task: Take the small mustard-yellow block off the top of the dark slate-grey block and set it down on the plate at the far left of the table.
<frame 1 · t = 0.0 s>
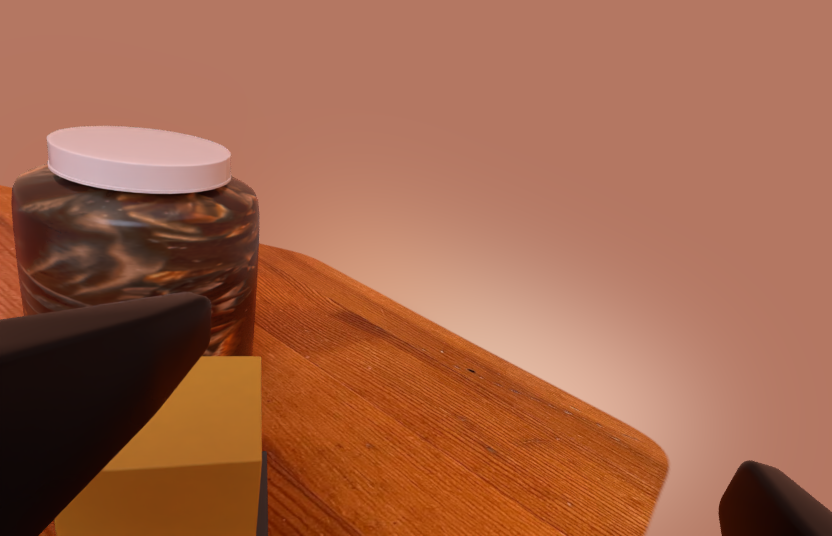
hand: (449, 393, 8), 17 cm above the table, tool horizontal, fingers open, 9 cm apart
top block: (175, 521, 17), point 6 cm above the table, touching base block
jar: (151, 382, 32), on the table
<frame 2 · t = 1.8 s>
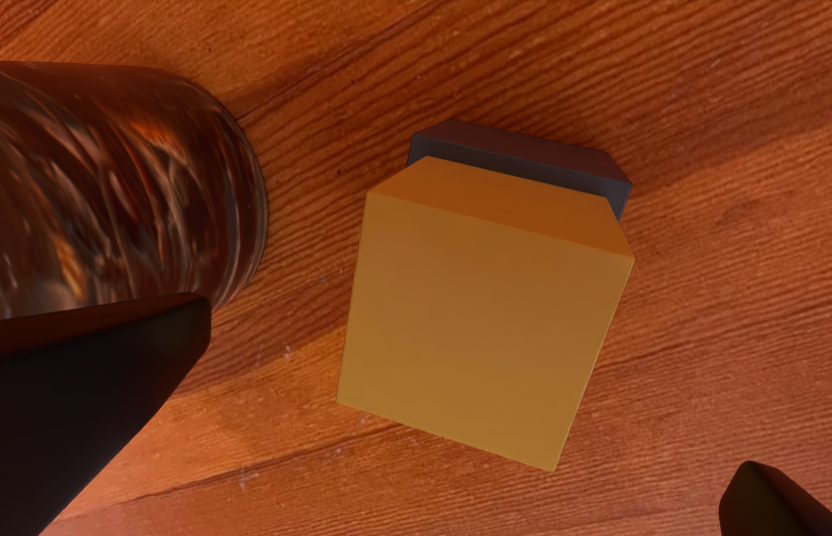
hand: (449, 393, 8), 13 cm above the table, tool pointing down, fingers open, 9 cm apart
top block: (491, 259, 15), point 6 cm above the table, touching base block
jar: (163, 199, 24), on the table
base block: (508, 210, 20), on the table, touching top block
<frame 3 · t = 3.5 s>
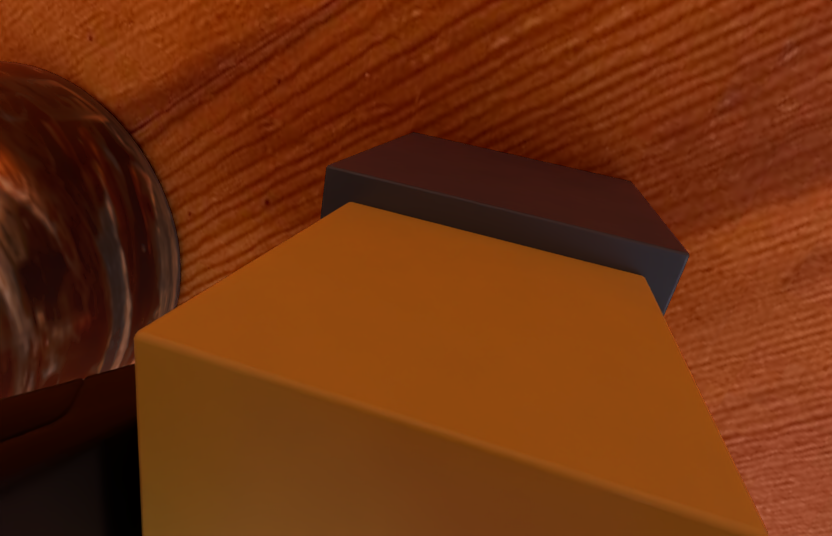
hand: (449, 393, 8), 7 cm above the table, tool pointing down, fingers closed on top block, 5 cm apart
top block: (458, 362, 9), point 6 cm above the table, touching base block, gripper
jar: (52, 233, 19), on the table
base block: (491, 257, 15), on the table, touching top block
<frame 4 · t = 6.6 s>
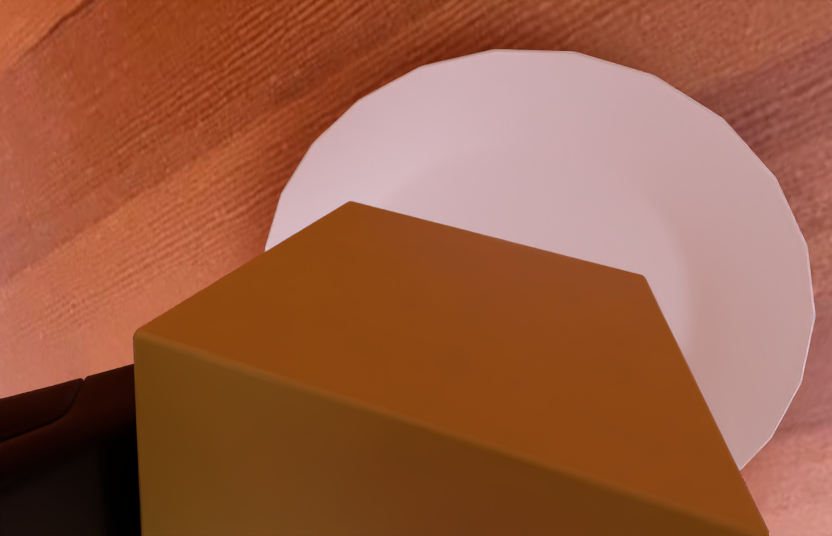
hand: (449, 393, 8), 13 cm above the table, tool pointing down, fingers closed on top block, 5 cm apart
top block: (458, 361, 9), point 12 cm above the table, touching gripper
plate: (506, 310, 22), on the table
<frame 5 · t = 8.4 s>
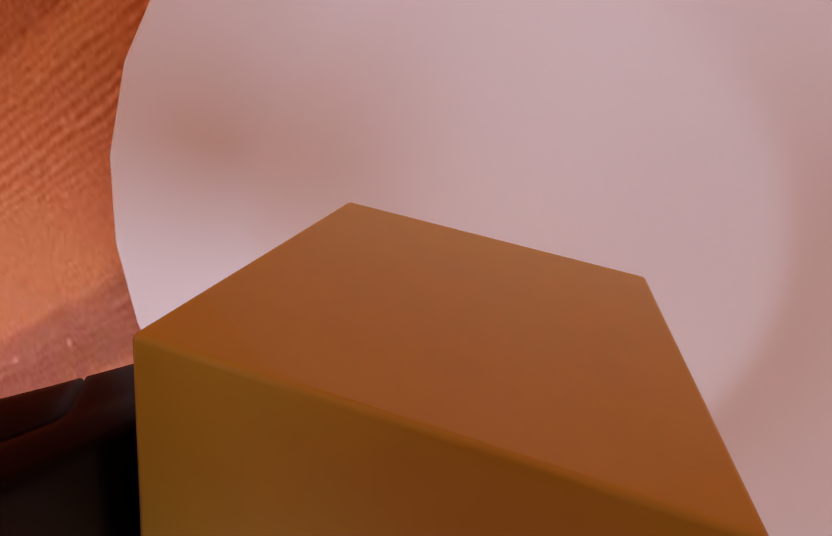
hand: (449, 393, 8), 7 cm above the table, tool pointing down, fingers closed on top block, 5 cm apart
top block: (457, 362, 9), point 6 cm above the table, touching gripper
plate: (489, 262, 14), on the table
when the fingers open (3 cm above the table, at t = 9.7 s): top block stays where it is, resting on plate.
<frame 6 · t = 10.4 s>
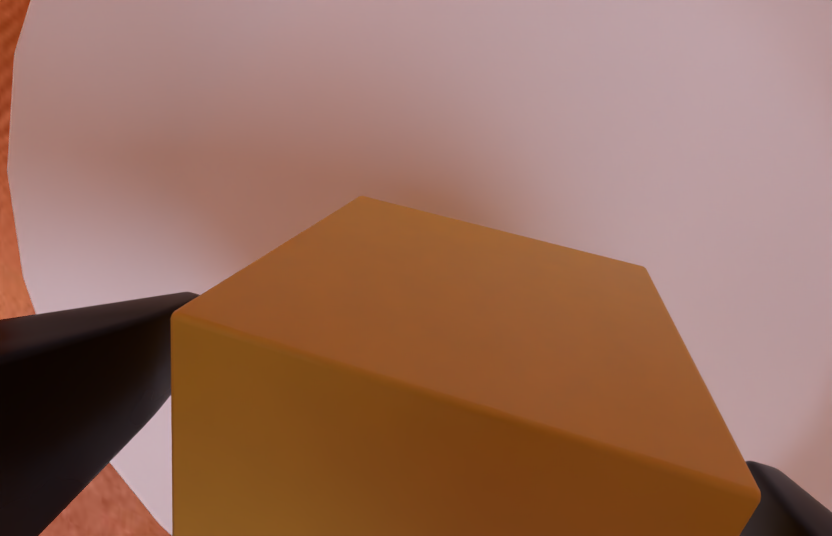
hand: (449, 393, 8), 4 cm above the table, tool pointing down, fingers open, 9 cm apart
top block: (464, 351, 10), point 2 cm above the table, touching plate
plate: (480, 300, 12), on the table, touching top block
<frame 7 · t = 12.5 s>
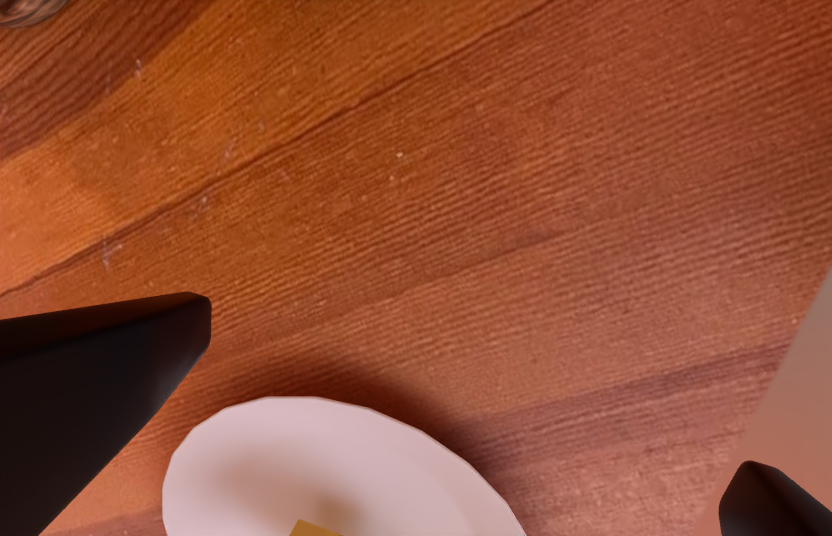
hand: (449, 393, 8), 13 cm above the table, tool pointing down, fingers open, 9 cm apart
plate: (353, 530, 28), on the table, touching top block
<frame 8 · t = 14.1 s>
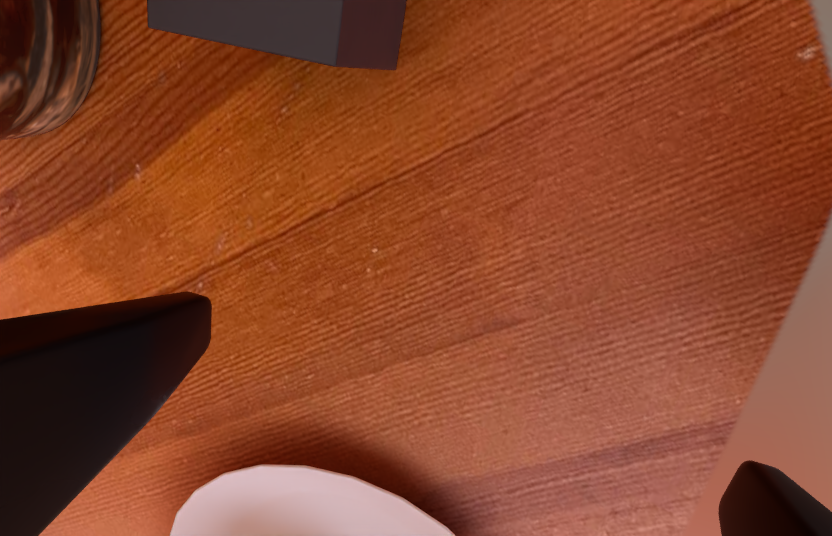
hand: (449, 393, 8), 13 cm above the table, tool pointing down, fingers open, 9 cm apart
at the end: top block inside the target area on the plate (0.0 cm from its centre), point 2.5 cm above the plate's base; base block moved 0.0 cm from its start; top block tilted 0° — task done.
